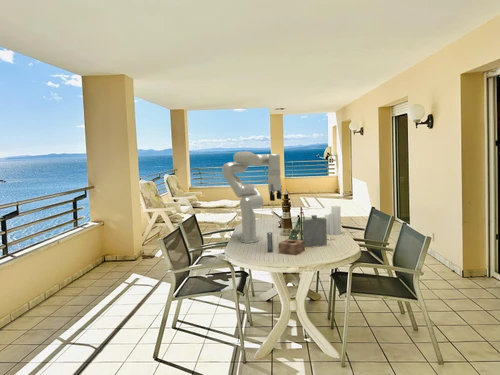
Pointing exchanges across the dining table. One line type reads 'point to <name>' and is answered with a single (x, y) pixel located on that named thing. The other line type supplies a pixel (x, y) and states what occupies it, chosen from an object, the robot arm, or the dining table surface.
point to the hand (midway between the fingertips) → (275, 199)
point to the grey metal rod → (269, 242)
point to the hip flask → (315, 231)
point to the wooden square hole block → (291, 246)
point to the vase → (334, 221)
